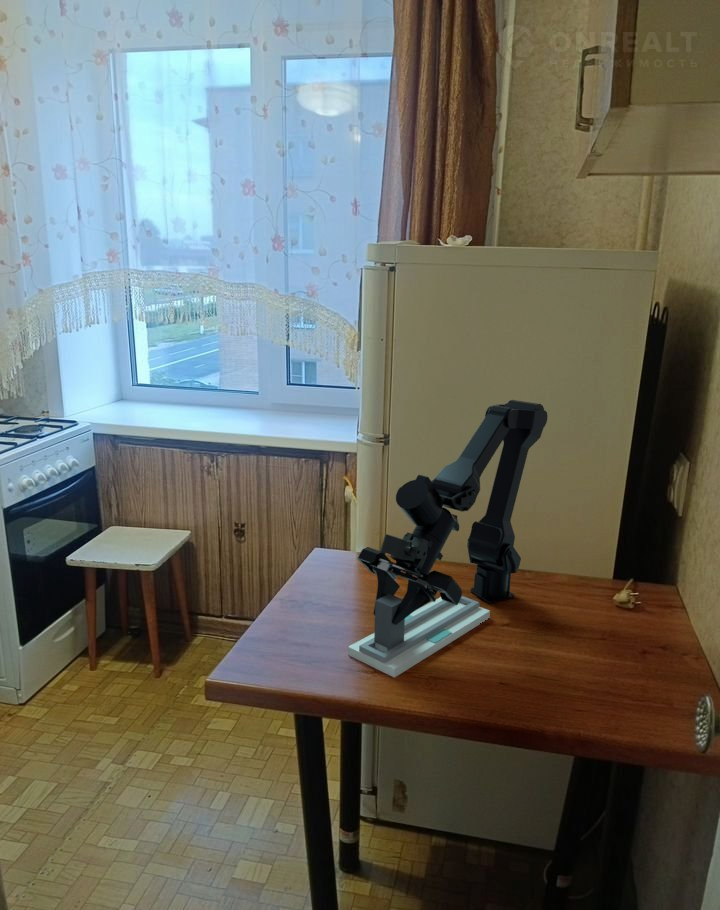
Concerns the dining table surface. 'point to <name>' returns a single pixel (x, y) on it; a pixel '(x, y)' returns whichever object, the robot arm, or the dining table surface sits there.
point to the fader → (387, 623)
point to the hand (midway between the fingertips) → (384, 619)
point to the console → (422, 635)
